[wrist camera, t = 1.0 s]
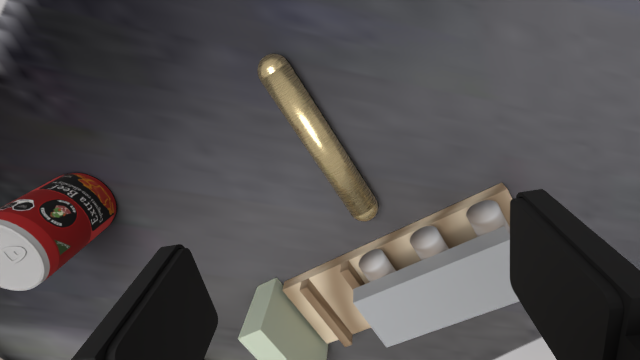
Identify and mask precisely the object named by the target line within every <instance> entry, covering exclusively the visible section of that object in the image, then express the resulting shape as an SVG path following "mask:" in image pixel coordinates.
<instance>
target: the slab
mask: <svg viewBox="0 0 640 360" xmlns="http://www.w3.org/2000/svg"><path fill="white" fill-rule="evenodd" d="M516 302H519V299H518V297H517V296H516V294H515V293H514V291H513V289H512V286H511V283H510V234H509V233H508V231H507V230H506V228H505V227H504V226H503V227H501V228H498V229H496V230H494V231H491V232H489V233H486V234H484V235H482V236H479V237H477V238H474V239H472V240H470V241H467V242H465V243H462V244H460V245H458V246H455V247H453V248H450V249H448V250H446V251H443V252H441V253H438V254H436V255H434V256H431V257H429V258H426V259H424V260H422V261H419V262H417V263H414V264H412V265H410V266H407V267H405V268H403V269H400V270H398V271H395V272H393V273H391V274H388V275H386V276H383V277H381V278H379V279H376V280H374V281H371V282H369V283H367V284H364V285H362V286H359V287H357V288H355V289H353V304H354V305H355V306H356V308H357V309H358V310H359V312H360V313H361V314H362V316H363V317H364V318H365V320H366V321H367V322H368V324H369V325H370V326H371V327H372V329H373V330H374V331H375V333H376V334H377V335H378V337H379V338H380V339H381V341H382V342H383V343H384V345H385V346H386V347H389V346H392V345H395V344H398V343H401V342H404V341H407V340H409V339H412V338H415V337H418V336H421V335H424V334H427V333H430V332H432V331H435V330H438V329H441V328H444V327H447V326H450V325H453V324H455V323H458V322H461V321H464V320H467V319H470V318H473V317H476V316H478V315H481V314H484V313H487V312H490V311H493V310H496V309H499V308H501V307H504V306H507V305H510V304H513V303H516Z"/></svg>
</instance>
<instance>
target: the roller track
mask: <svg viewBox="0 0 640 360" xmlns="http://www.w3.org/2000/svg"><path fill="white" fill-rule="evenodd" d="M511 200H512V198H511V195H510V193H509V191H508V189H507V188H506V187H505V186H504V185H503V183H500V184H498V185H495V186H493V187H491V188H489V189H487V190H484V191H482V192H480V193H478V194H476V195H473V196H471V197H469V198H467V199H465V200H462V201H460V202H458V203H456V204H454V205H451V206H449V207H447V208H445V209H443V210H441V211H438V212H436V213H434V214H432V215H430V216H427V217H425V218H423V219H421V220H419V221H416V222H414V223H412V224H410V225H408V226H405V227H403V228H401V229H399V230H397V231H394V232H392V233H390V234H388V235H386V236H384V237H381V238H379V239H377V240H375V241H373V242H370V243H368V244H366V245H364V246H362V247H359V248H357V249H355V250H353V251H351V252H348V253H346V254H344V255H342V256H340V257H337V258H335V259H333V260H331V261H329V262H327V263H324V264H322V265H320V266H318V267H316V268H313V269H311V270H309V271H307V272H305V273H302V274H300V275H298V276H296V277H294V278H291V279H289V280H287V281H285V282H284V285H283V289H282V291H283V292H284V293H285V294H286V295H287V297H288V298H289V299H290V300H291V301H292V303H293V304H294V305H295V306H296V307H297V309H298V310H299V311H300V312H301V313H302V315H303V316H304V317H305V318H306V320H307V321H308V322H309V323H310V324H311V326H312V327H313V328H314V329H315V330H316V332H317V333H318V334H319V335H320V336H321V338H322V339H323V340H324V341H325V342H326V344H328V343H331V342H333V341H336V340H340V341H341V343H342V344H343V345H344V346H345V347H347V346H349V345H352V334H355V333H357V332H360V331H363V330H365V329H368V328H371V326H370V325H369V324H368V322H367V321H366V320H365V318H364V317H363V316H362V314H361V313H360V312H359V310H358V309H357V308H356V306H355V305H354V304H353V289H355V288H357V287H359V286H362V285H364V284H367V283H369V282H371V281H374V280H376V279H379V278H381V277H383V276H386V275H388V274H391V273H393V272H395V271H398V270H400V269H403V268H405V267H407V266H410V265H412V264H414V263H417V262H419V261H422V260H424V259H426V258H429V257H431V256H434V255H436V254H438V253H441V252H443V251H446V250H448V249H450V248H453V247H455V246H458V245H460V244H462V243H465V242H467V241H470V240H472V239H474V238H477V237H479V236H482V235H484V234H486V233H489V232H491V231H494V230H496V229H498V228H501V227H503V226H504V227H505V228H506V230H507V231H508V233H509V234H510V201H511Z"/></svg>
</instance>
